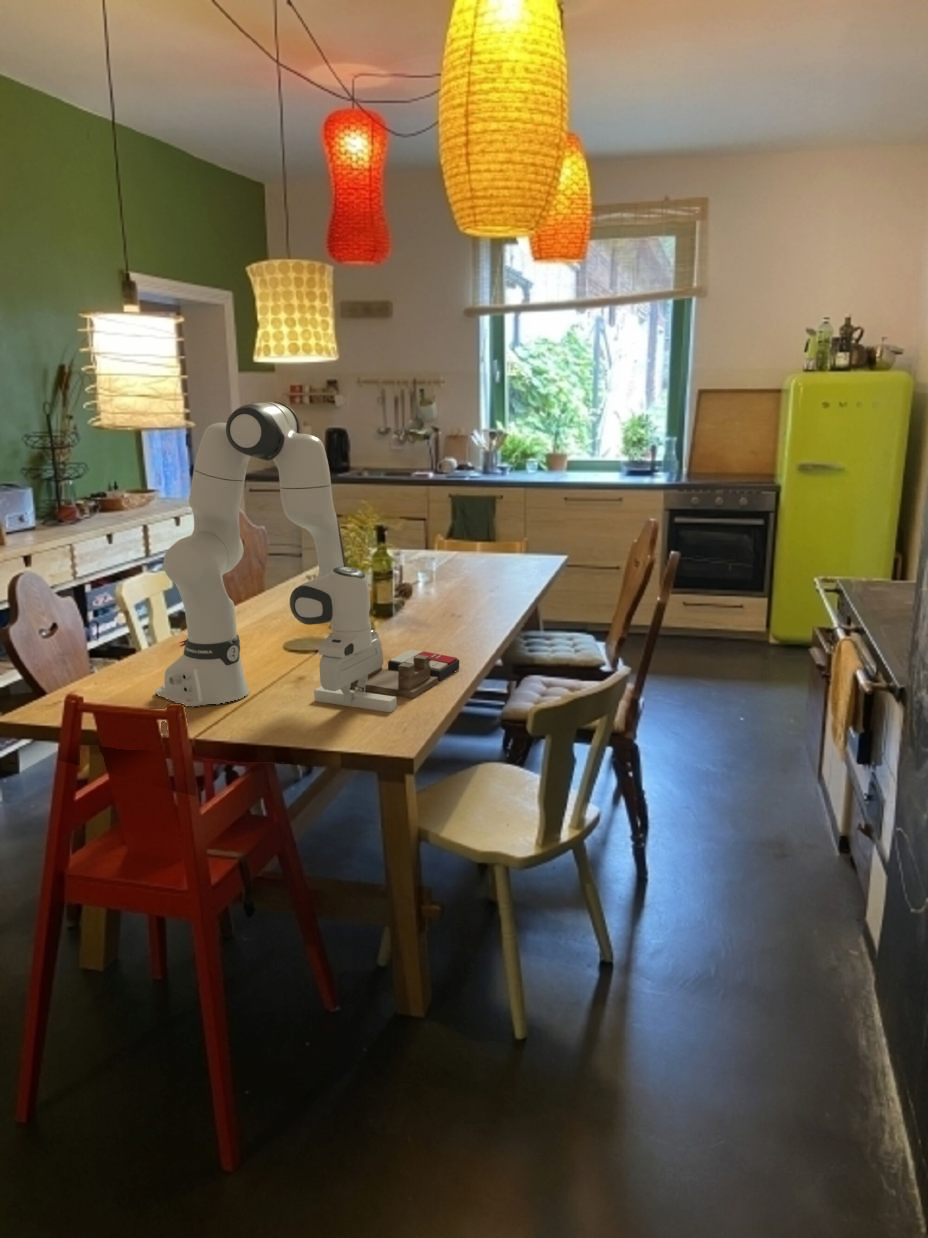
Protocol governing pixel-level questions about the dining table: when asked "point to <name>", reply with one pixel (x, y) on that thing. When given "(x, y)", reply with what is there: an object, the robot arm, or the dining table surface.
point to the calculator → (438, 663)
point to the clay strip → (357, 699)
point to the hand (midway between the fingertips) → (354, 697)
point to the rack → (402, 679)
